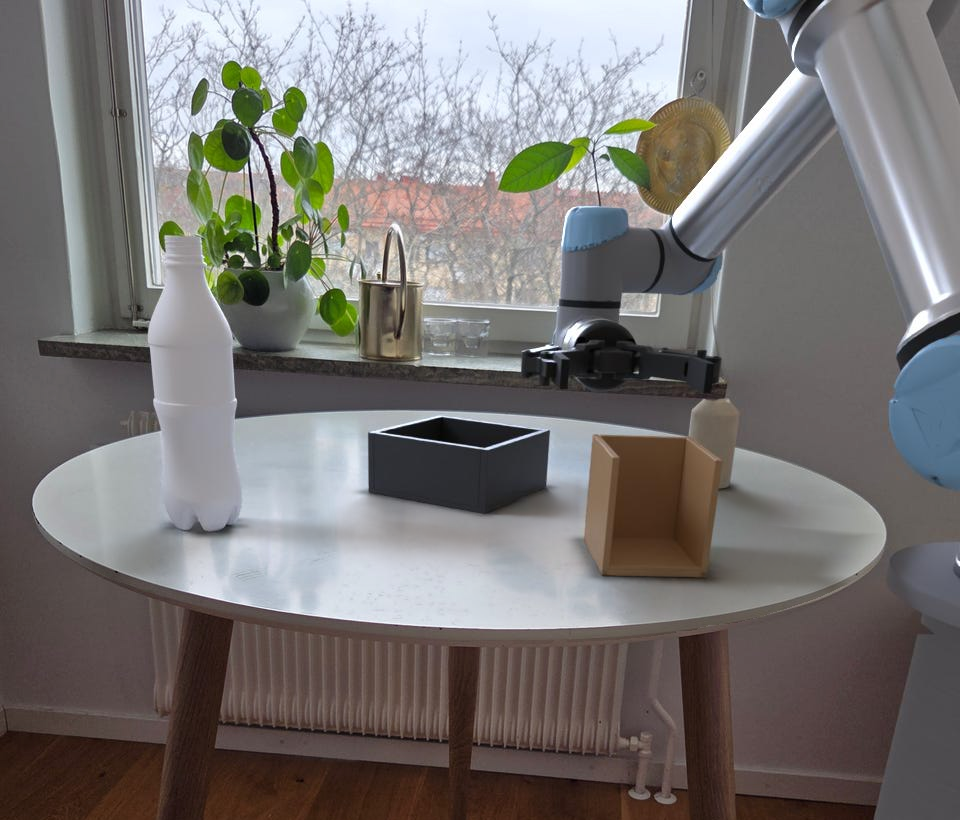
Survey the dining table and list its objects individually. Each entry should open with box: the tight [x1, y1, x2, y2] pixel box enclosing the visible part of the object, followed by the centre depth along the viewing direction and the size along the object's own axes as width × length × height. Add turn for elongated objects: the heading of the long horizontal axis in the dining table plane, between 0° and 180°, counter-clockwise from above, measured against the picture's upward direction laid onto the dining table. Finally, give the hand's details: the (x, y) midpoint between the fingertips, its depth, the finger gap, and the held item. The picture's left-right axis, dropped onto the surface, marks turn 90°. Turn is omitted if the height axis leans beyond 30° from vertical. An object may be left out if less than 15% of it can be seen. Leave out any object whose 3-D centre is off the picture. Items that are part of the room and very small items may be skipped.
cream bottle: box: [687, 398, 741, 489], centre depth 110 cm, size 6×6×10 cm
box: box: [583, 433, 723, 578], centre depth 82 cm, size 10×9×10 cm
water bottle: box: [147, 234, 243, 532], centre depth 83 cm, size 7×7×25 cm
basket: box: [367, 414, 551, 514], centre depth 103 cm, size 15×15×6 cm
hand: (637, 376), depth 87 cm, fingers open, 13 cm apart
